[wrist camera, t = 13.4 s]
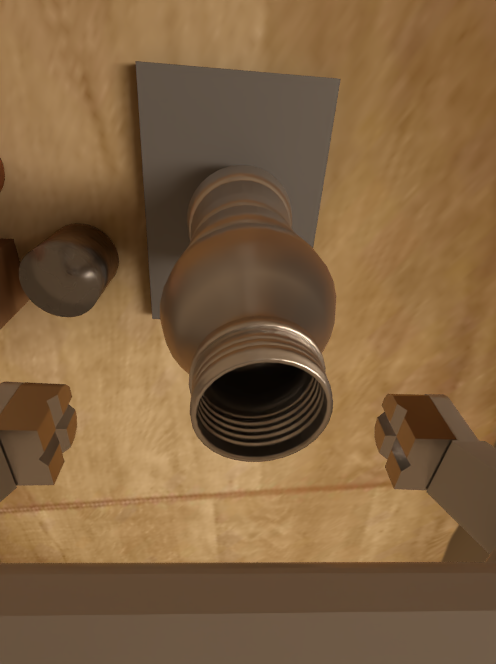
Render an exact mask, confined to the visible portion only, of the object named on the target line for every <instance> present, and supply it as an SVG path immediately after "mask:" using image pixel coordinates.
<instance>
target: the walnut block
mask: <svg viewBox="0 0 496 664" xmlns="http://www.w3.org/2000/svg"><path fill="white" fill-rule="evenodd" d="M19 267H20V262H19V258H18V254H17V251H16V247H15V243H14V239H0V329H1V328H2V327H3V326H4V325H5V324H6V323H7V322H8V321H9V320H10V319H11V318H12V317H13V316H14V315H15V314H16V313H17V312H18V311H19V310H20V309H21V308H22V307H23V306H24V305H25V304H26V303H27V302H28V301H29V298H28V297H27V295H26V294H25V292H24V291H23V289H22V286H21V284H20V280H19Z"/></svg>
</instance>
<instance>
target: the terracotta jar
mask: <svg viewBox="0 0 496 664" xmlns="http://www.w3.org/2000/svg"><path fill="white" fill-rule="evenodd" d="M4 180H5V173H4V167H3V164H2V161H1V158H0V192H1V190H2V188H3V185H4Z"/></svg>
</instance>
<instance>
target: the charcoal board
mask: <svg viewBox="0 0 496 664" xmlns="http://www.w3.org/2000/svg"><path fill="white" fill-rule="evenodd" d="M136 75H137V90H138V106H139V121H140V136H141V151H142V167H143V182H144V197H145V213H146V228H147V243H148V258H149V274H150V289H151V304H152V319H160V301H161V297H162V292H163V288H164V286H165V284H166V282H167V280H168V277H169V275H170V273H171V271H172V269H173V267H174V265H175V263H176V262H177V261H178V259H179V258H180V257H181V256H182V254H183V253H184V251H185V250H186V249H187V247H188V246H189V244H190V242H191V241H190V239H189V233H188V227H187V211H188V207H189V203H190V200H191V198H192V196H193V194H194V192H195V190H196V189H197V187H198V186H199V185H200V183H201V182H202V181H204V180H205V179H206V178H207V177H208V176H209V175H211V174H213V173H214V172H216V171H218V170H220V169H223V168H226V167H228V166H235V165H248V166H254V167H257V168H260V169H263V170H264V171H266V172H268V173H270V174H271V175H273V176H274V177H275V178H276V179H277V180H278V181H279V182H280V183H281V185H282V186H283V187H284V189H285V191H286V193H287V195H288V197H289V200H290V205H291V210H292V227H291V228H292V230H293V231H294V232H295V233H296V234H297V235H298V236H299V237H301V238H302V239H303V240H304V241H305V242H307V243H308V244H309V245H310V246H311V247H312V248H313V245H314V239H315V233H316V227H317V221H318V214H319V208H320V202H321V196H322V190H323V184H324V177H325V171H326V165H327V159H328V153H329V147H330V140H331V134H332V128H333V122H334V116H335V110H336V103H337V97H338V91H339V85H340V79H336V78H324V77H312V76H301V75H289V74H278V73H266V72H255V71H243V70H231V69H220V68H208V67H197V66H185V65H174V64H162V63H150V62H139V61H136Z"/></svg>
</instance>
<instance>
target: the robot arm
mask: <svg viewBox="0 0 496 664" xmlns="http://www.w3.org/2000/svg"><path fill="white" fill-rule="evenodd" d="M71 398H72V394H71V390H70V387H69V386H68V385H66V384H47V383H28V382H25V383H21V382H3V383H1V384H0V502H1V501H2V500H3V499H4V498H5V497H6V496H8V495H9V494H10V493H11V492H12V491H13V490H14V489H16V485H54V484H55V482H56V479H57V477H58V475H59V473H60V470H61V468H62V466H63V464H64V458H63V454H62V453H63V452H65V451H66V450H68V449H69V448H70V447H71V446H72V443H73V441H74V438H75V434H76V429H77V416H76V411H75V409H74V408H72V407H71V406H70V405H69V402H70V400H71ZM382 407H383V409H384V411H385V412H384V413H383V414H381V415H380V416H379V417H377V421H376V424H375V442H376V446H377V448H378V451H379V453H380V454H381V455H383V456H384V457H385V458H386V459H387V462H386V465H385V468H386V471H387V473H388V476H389V478H390V481H391V483H392V486H393V488H394V489H408V490H427V493H428V494H429V495H430V496H431V497H432V498H433V499H434V500H435V501H436V502H437V503H438V504H439V505H440V506H441V507H442V508H443V509H444V510H445V511H446V512H447V513H448V514H449V515H450V516H451V517H452V518H453V519H454V520H455V521H456V522H457V523H458V524H460V525H461V526H462V527H463V528H464V529H465V530H466V531H467V532H468V533H469V534H470V535H471V536H472V537H473V538H474V539H475V540H476V541H477V542H478V543H479V544H480V545H481V546H482V547H483V548H484V549H485V550H486V551H487V552H488V553H489V554H490V555H489V556H488V558H487V559H486V560H485V562H288V563H0V664H496V448H495V447H493V446H492V445H490V444H489V443H487V442H485V441H479V440H478V439H477V437H476V436H475V435H474V433H473V432H472V430H471V429H470V427H469V426H468V425H467V423H466V422H465V420H464V419H463V417H462V416H461V415H460V413H459V412H458V410H457V409H456V407H455V406H454V405H453V403H452V402H451V400H450V399H449V398H448V397H447V396H445V395H437V394H425V395H414V394H387V395H386V397H385V398H384V400H383V403H382Z"/></svg>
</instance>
